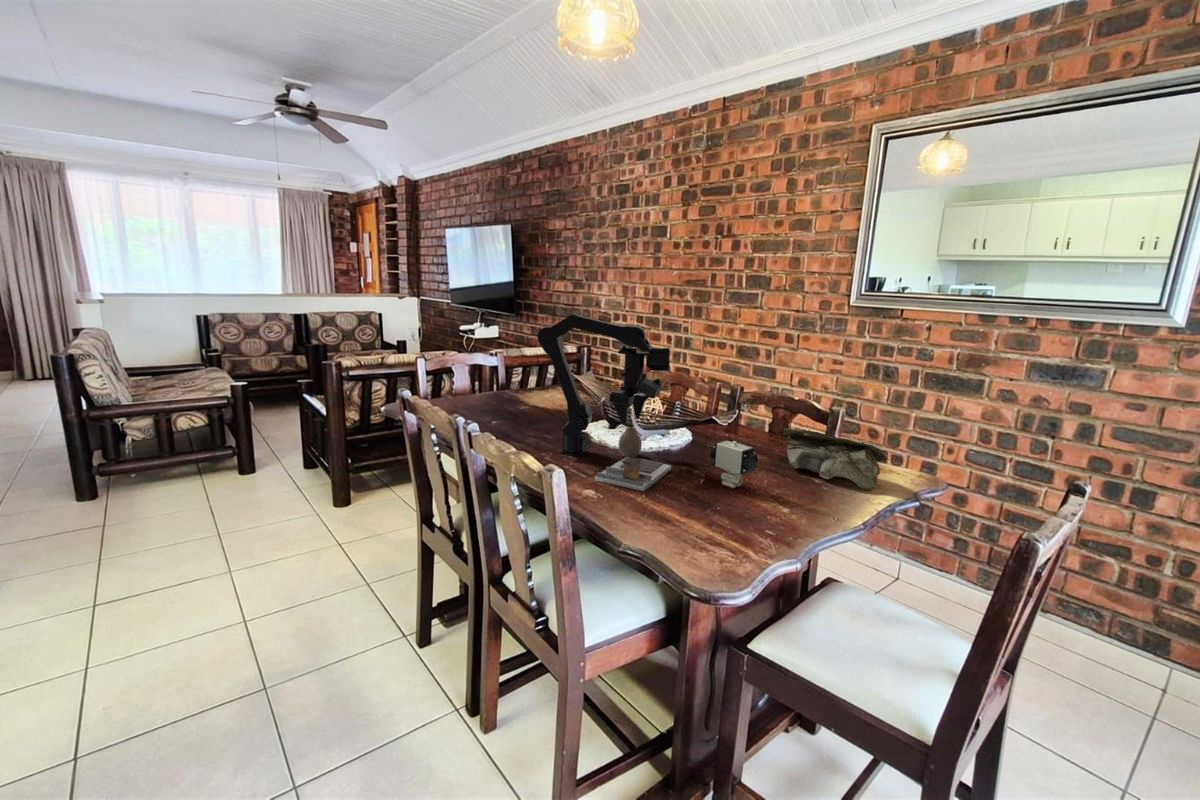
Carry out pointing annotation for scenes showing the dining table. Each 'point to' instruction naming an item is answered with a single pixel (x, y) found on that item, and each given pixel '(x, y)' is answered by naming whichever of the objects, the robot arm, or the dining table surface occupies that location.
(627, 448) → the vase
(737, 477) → the pneumatic valve
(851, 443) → the hollow geode rock
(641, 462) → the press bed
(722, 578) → the dining table surface
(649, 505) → the dining table surface
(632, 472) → the brown block
